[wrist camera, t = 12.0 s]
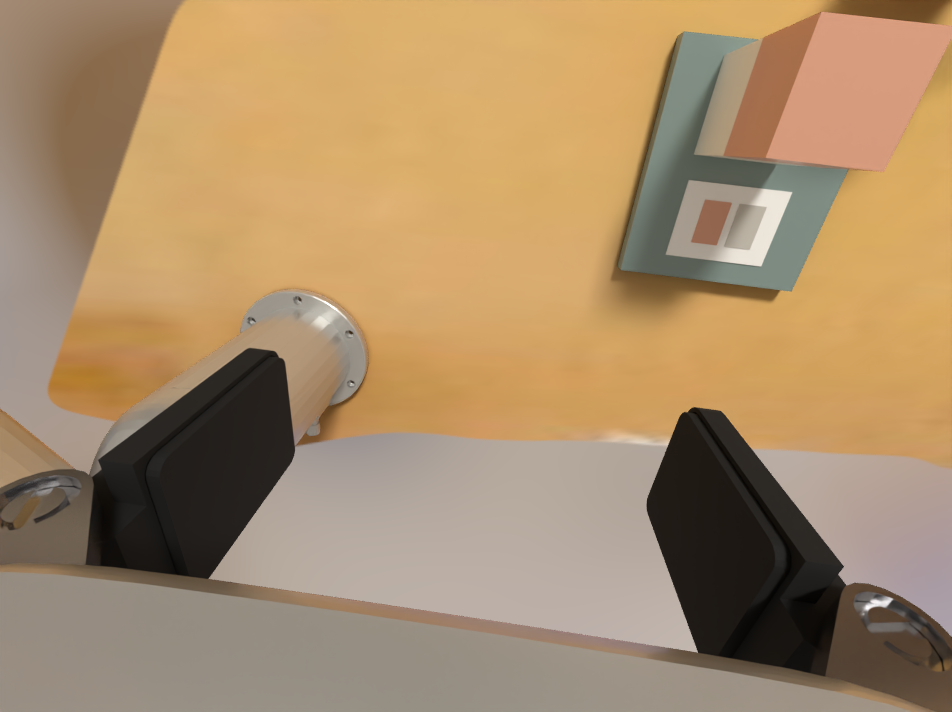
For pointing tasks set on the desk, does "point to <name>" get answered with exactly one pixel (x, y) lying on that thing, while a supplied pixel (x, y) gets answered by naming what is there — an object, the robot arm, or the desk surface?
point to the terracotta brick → (836, 91)
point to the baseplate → (720, 182)
